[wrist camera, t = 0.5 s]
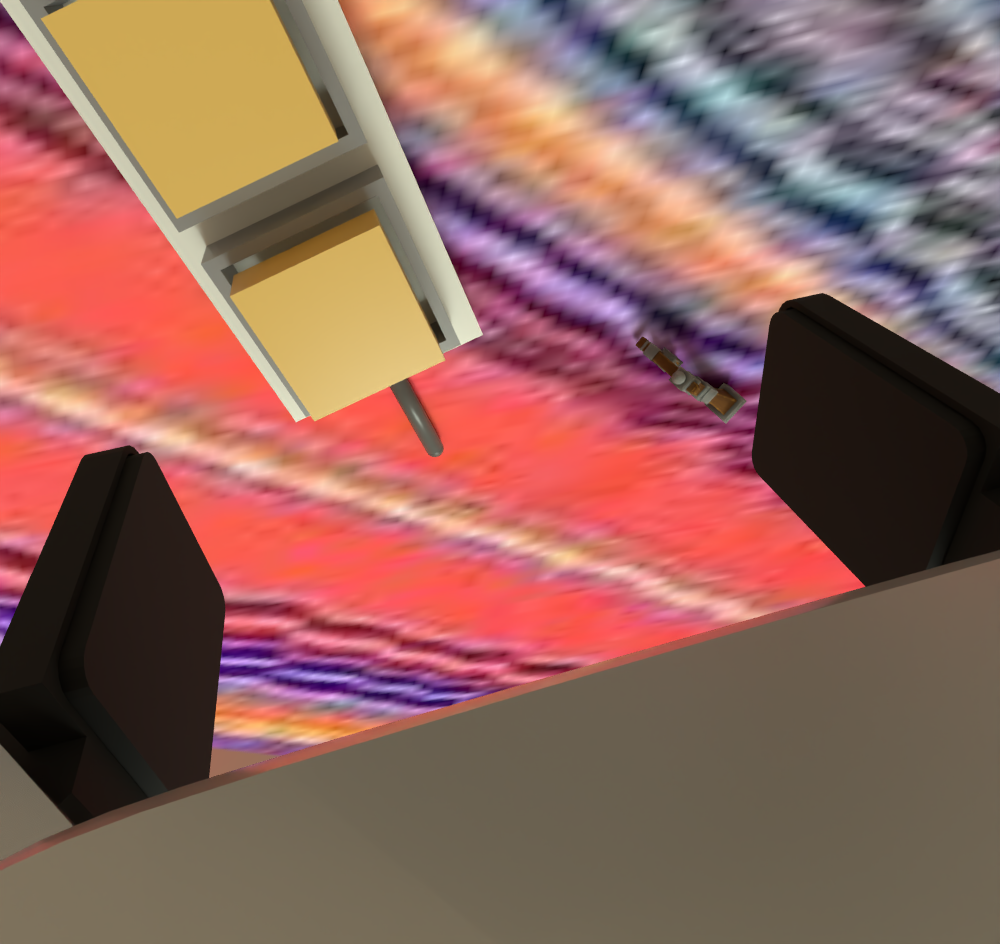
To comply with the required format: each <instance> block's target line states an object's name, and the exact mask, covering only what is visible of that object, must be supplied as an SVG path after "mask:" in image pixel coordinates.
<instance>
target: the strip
mask: <svg viewBox="0 0 1000 944" xmlns="http://www.w3.org/2000/svg"><path fill="white" fill-rule="evenodd" d="M75 1H78V0H0V2H1V3H2V4H3V6H4V7H5V9H6V10H7V12H8V13H9V14H10V16H11V17H12V19H13V20H14V22H15V23H16V24H17V26H18V27H19V29H20V30H21V32H22V33H23V34H24V36H25V37H26V39H27V40H28V41H29V43H30V44H31V46H32V47H33V49H34V50H35V51H36V53H37V54H38V56H39V57H40V59H41V60H42V61H43V63H44V64H45V66H46V67H47V68H48V70H49V71H50V73H51V74H52V76H53V77H54V78H55V80H56V81H57V83H58V84H59V86H60V87H61V88H62V90H63V91H64V93H65V94H66V95H67V97H68V98H69V100H70V101H71V103H72V104H73V105H74V107H75V108H76V110H77V111H78V113H79V114H80V115H81V117H82V118H83V120H84V121H85V123H86V124H87V125H88V127H89V128H90V130H91V131H92V132H93V134H94V135H95V137H96V138H97V140H98V141H99V142H100V144H101V145H102V147H103V148H104V150H105V151H106V152H107V154H108V155H109V157H110V158H111V159H112V161H113V162H114V164H115V165H116V167H117V168H118V169H119V171H120V172H121V174H122V175H123V177H124V178H125V179H126V181H127V182H128V184H129V185H130V186H131V188H132V189H133V191H134V192H135V194H136V195H137V196H138V198H139V199H140V201H141V202H142V204H143V205H144V206H145V208H146V209H147V211H148V212H149V214H150V215H151V216H152V218H153V219H154V221H155V222H156V223H157V225H158V226H159V228H160V229H161V231H162V232H163V233H164V235H165V236H166V238H167V239H168V241H169V242H170V243H171V245H172V246H173V248H174V249H175V250H176V252H177V253H178V255H179V256H180V258H181V259H182V260H183V262H184V263H185V265H186V266H187V268H188V269H189V270H190V272H191V273H192V275H193V276H194V277H195V279H196V280H197V282H198V283H199V285H200V286H201V287H202V289H203V290H204V292H205V293H206V295H207V296H208V297H209V299H210V300H211V302H212V303H213V304H214V306H215V307H216V309H217V310H218V312H219V313H220V314H221V316H222V317H223V319H224V320H225V322H226V323H227V324H228V326H229V327H230V329H231V330H232V332H233V333H234V334H235V336H236V337H237V339H238V340H239V341H240V343H241V344H242V346H243V347H244V349H245V350H246V351H247V353H248V354H249V356H250V357H251V359H252V360H253V361H254V363H255V364H256V366H257V367H258V368H259V370H260V371H261V373H262V374H263V376H264V377H265V378H266V380H267V381H268V383H269V384H270V386H271V387H272V388H273V390H274V391H275V393H276V394H277V395H278V397H279V398H280V400H281V401H282V403H283V404H284V405H285V407H286V408H287V410H288V411H289V413H290V414H291V415H292V417H293V418H294V420H295V421H296V422H297V421H299V420H302V419H304V418H306V417H308V416H310V414H309V412H308V411H307V409H306V408H305V406H304V405H303V403H302V402H301V400H300V399H299V398H298V396H297V395H296V393H295V392H294V390H293V389H292V387H291V386H290V384H289V383H288V381H287V380H286V378H285V377H284V375H283V374H282V373H281V371H280V370H279V368H278V367H277V365H276V364H275V362H274V361H273V359H272V358H271V356H270V355H269V353H268V352H267V351H266V349H265V348H264V346H263V345H262V343H261V342H260V340H259V339H258V337H257V336H256V334H255V333H254V331H253V330H252V328H251V327H250V326H249V324H248V323H247V321H246V320H245V318H244V317H243V315H242V314H241V312H240V311H239V309H238V308H237V306H236V305H235V303H234V302H233V301H232V299H231V298H230V292H231V287H232V282H233V276H234V275H236V274H238V273H240V272H242V271H244V270H246V269H248V268H250V267H252V266H254V265H257V264H259V263H261V262H263V261H265V260H267V259H269V258H271V257H273V256H275V255H278V254H280V253H282V252H284V251H286V250H288V249H290V248H292V247H294V246H297V245H299V244H301V243H303V242H305V241H307V240H309V239H311V238H313V237H315V236H318V235H320V234H322V233H324V232H326V231H328V230H330V229H332V228H334V227H336V226H339V225H341V224H343V223H345V222H347V221H349V220H351V219H353V218H355V217H358V216H360V215H362V214H364V213H366V212H368V211H370V210H372V209H374V210H375V212H376V214H377V216H378V218H379V221H380V223H381V225H382V227H383V229H384V231H385V233H386V235H387V237H388V239H389V241H390V243H391V245H392V247H393V249H394V251H395V253H396V256H397V258H398V260H399V262H400V264H401V266H402V268H403V270H404V272H405V274H406V276H407V278H408V280H409V282H410V284H411V286H412V288H413V291H414V293H415V295H416V297H417V299H418V301H419V303H420V305H421V307H422V309H423V311H424V313H425V315H426V317H427V319H428V321H429V324H430V326H431V328H432V330H433V332H434V334H435V336H436V338H437V340H438V343H439V345H440V348H441V350H442V353H445V352H447V351H449V350H451V349H453V348H456V347H458V346H460V345H462V344H464V343H466V342H468V341H471V340H473V339H475V338H477V337H479V336H481V335H483V334H482V332H481V329H480V327H479V325H478V323H477V320H476V318H475V316H474V313H473V311H472V309H471V306H470V304H469V302H468V299H467V297H466V295H465V293H464V290H463V288H462V286H461V283H460V281H459V279H458V276H457V274H456V272H455V270H454V267H453V265H452V263H451V260H450V258H449V256H448V253H447V251H446V249H445V246H444V244H443V242H442V240H441V237H440V235H439V233H438V230H437V228H436V226H435V223H434V221H433V219H432V216H431V214H430V212H429V210H428V207H427V205H426V203H425V200H424V198H423V196H422V193H421V191H420V189H419V186H418V184H417V182H416V180H415V177H414V175H413V173H412V170H411V168H410V166H409V163H408V161H407V159H406V157H405V154H404V152H403V150H402V147H401V145H400V143H399V140H398V138H397V136H396V133H395V131H394V129H393V127H392V124H391V122H390V120H389V117H388V115H387V113H386V110H385V108H384V106H383V103H382V101H381V99H380V97H379V94H378V92H377V90H376V87H375V85H374V83H373V80H372V78H371V76H370V74H369V71H368V69H367V67H366V64H365V62H364V60H363V57H362V55H361V53H360V50H359V48H358V46H357V44H356V41H355V39H354V37H353V34H352V32H351V30H350V27H349V25H348V23H347V20H346V18H345V16H344V14H343V11H342V9H341V7H340V4H339V2H338V0H273V2H274V4H275V6H276V8H277V11H278V13H279V15H280V17H281V19H282V21H283V23H284V25H285V27H286V29H287V31H288V33H289V35H290V37H291V39H292V41H293V43H294V46H295V48H296V50H297V52H298V54H299V56H300V58H301V60H302V62H303V64H304V66H305V68H306V70H307V72H308V74H309V76H310V78H311V81H312V83H313V85H314V87H315V89H316V91H317V93H318V95H319V97H320V99H321V101H322V103H323V105H324V107H325V109H326V111H327V113H328V116H329V118H330V120H331V122H332V124H333V126H334V128H335V130H336V134H337V137H338V142H336V143H334V144H332V145H330V146H328V147H326V148H324V149H321V150H319V151H317V152H315V153H313V154H311V155H309V156H307V157H305V158H303V159H301V160H299V161H296V162H294V163H292V164H290V165H288V166H286V167H284V168H282V169H280V170H278V171H276V172H273V173H271V174H269V175H267V176H265V177H263V178H261V179H259V180H257V181H255V182H253V183H251V184H248V185H246V186H244V187H242V188H240V189H238V190H236V191H234V192H232V193H230V194H228V195H226V196H223V197H221V198H219V199H217V200H215V201H213V202H211V203H209V204H207V205H205V206H203V207H200V208H198V209H196V210H194V211H192V212H190V213H188V214H186V215H184V216H182V217H180V218H178V219H177V218H176V217H175V215H174V214H173V212H172V211H171V209H170V208H169V206H168V205H167V204H166V202H165V201H164V199H163V198H162V196H161V195H160V193H159V192H158V190H157V189H156V187H155V186H154V184H153V183H152V182H151V180H150V179H149V177H148V176H147V174H146V173H145V171H144V170H143V168H142V167H141V165H140V164H139V162H138V161H137V159H136V158H135V157H134V155H133V154H132V152H131V151H130V149H129V148H128V146H127V145H126V143H125V142H124V140H123V139H122V137H121V136H120V134H119V133H118V132H117V130H116V129H115V127H114V126H113V124H112V123H111V121H110V120H109V118H108V117H107V115H106V114H105V112H104V111H103V110H102V108H101V107H100V105H99V104H98V102H97V101H96V99H95V98H94V96H93V95H92V93H91V92H90V90H89V89H88V87H87V86H86V85H85V83H84V82H83V80H82V79H81V77H80V76H79V74H78V73H77V71H76V70H75V68H74V67H73V65H72V64H71V62H70V61H69V60H68V58H67V57H66V55H65V54H64V52H63V51H62V49H61V48H60V46H59V45H58V43H57V42H56V40H55V39H54V38H53V36H52V35H51V33H50V32H49V30H48V29H47V27H46V26H45V24H44V23H43V21H42V20H41V18H43V17H45V16H47V15H49V14H51V13H53V12H55V11H57V10H59V9H61V8H63V7H65V6H67V5H69V4H71V3H73V2H75ZM390 388H391V390H392V391H393V393H394V395H395V397H396V399H397V400H398V402H399V404H400V406H401V407H402V409H403V411H404V413H405V414H406V416H407V418H408V420H409V421H410V423H411V425H412V427H413V429H414V430H415V432H416V434H417V436H418V437H419V439H420V441H421V443H422V444H423V446H424V448H425V450H426V451H427V453H428V454H429V455H430V456H432V457H438V456H440V455H441V454H442V452H443V449H444V448H443V444H442V442H441V440H440V439H439V437H438V435H437V433H436V431H435V429H434V428H433V426H432V424H431V422H430V420H429V418H428V416H427V415H426V413H425V411H424V409H423V407H422V405H421V404H420V402H419V400H418V398H417V396H416V394H415V392H414V391H413V389H412V387H411V385H410V383H409V381H408V380H407V378H406V379H404V380H402V381H400V382H398V383H395V384H393V385H391V386H390Z"/></svg>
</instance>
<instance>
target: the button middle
mask: <svg viewBox="0 0 1000 944" xmlns="http://www.w3.org/2000/svg"><path fill="white" fill-rule="evenodd" d="M41 20H42V21H43V23H44V24H45V26H46V27H47V29H48V30H49V32H50V33H51V35H52V36H53V38H54V39H55V40H56V42H57V43H58V45H59V46H60V48H61V49H62V51H63V52H64V54H65V55H66V57H67V58H68V60H69V61H70V62H71V64H72V65H73V67H74V68H75V70H76V71H77V73H78V74H79V76H80V77H81V79H82V80H83V82H84V83H85V85H86V86H87V87H88V89H89V90H90V92H91V93H92V95H93V96H94V98H95V99H96V101H97V102H98V104H99V105H100V107H101V108H102V110H103V111H104V112H105V114H106V115H107V117H108V118H109V120H110V121H111V123H112V124H113V126H114V127H115V129H116V130H117V132H118V133H119V134H120V136H121V137H122V139H123V140H124V142H125V143H126V145H127V146H128V148H129V149H130V151H131V152H132V154H133V155H134V157H135V158H136V159H137V161H138V162H139V164H140V165H141V167H142V168H143V170H144V171H145V173H146V174H147V176H148V177H149V179H150V180H151V182H152V183H153V184H154V186H155V187H156V189H157V190H158V192H159V193H160V195H161V196H162V198H163V199H164V201H165V202H166V204H167V205H168V206H169V208H170V209H171V211H172V212H173V214H174V215H175V217H176V218H177V219H178V218H180V217H182V216H184V215H186V214H188V213H190V212H192V211H194V210H196V209H198V208H200V207H203V206H205V205H207V204H209V203H211V202H213V201H215V200H217V199H219V198H221V197H223V196H226V195H228V194H230V193H232V192H234V191H236V190H238V189H240V188H242V187H244V186H246V185H248V184H251V183H253V182H255V181H257V180H259V179H261V178H263V177H265V176H267V175H269V174H271V173H273V172H276V171H278V170H280V169H282V168H284V167H286V166H288V165H290V164H292V163H294V162H296V161H299V160H301V159H303V158H305V157H307V156H309V155H311V154H313V153H315V152H317V151H319V150H321V149H324V148H326V147H328V146H330V145H332V144H334V143H336V142H338V137H337V134H336V130H335V128H334V126H333V124H332V122H331V120H330V118H329V116H328V113H327V111H326V109H325V107H324V105H323V103H322V101H321V99H320V97H319V95H318V93H317V91H316V89H315V87H314V85H313V83H312V81H311V78H310V76H309V74H308V72H307V70H306V68H305V66H304V64H303V62H302V60H301V58H300V56H299V54H298V52H297V50H296V48H295V46H294V43H293V41H292V39H291V37H290V35H289V33H288V31H287V29H286V27H285V25H284V23H283V21H282V19H281V17H280V15H279V13H278V11H277V8H276V6H275V4H274V2H273V0H78V1H75V2H73V3H71V4H69V5H67V6H65V7H63V8H61V9H59V10H57V11H55V12H53V13H51V14H49V15H47V16H45V17H43V18H41Z"/></svg>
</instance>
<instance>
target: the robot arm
mask: <svg viewBox="0 0 1000 944" xmlns="http://www.w3.org/2000/svg"><path fill="white" fill-rule="evenodd" d="M752 461H753V465H754V468H755V470H756V472H757V473H758V475H759V476H760V477H761V478H762V479H763V480H764V481H765V482H766V483H767V484H768V485H769V486H770V487H771V488H772V489H773V491H774V492H775V493H776V494H777V495H778V496H779V497H780V498H781V499H782V500H783V501H784V502H785V503H786V504H787V505H788V506H789V507H790V508H791V509H792V510H793V511H794V512H795V513H796V514H797V516H798V517H799V518H800V519H801V520H802V521H803V522H804V523H805V524H806V525H807V526H808V527H809V528H810V529H811V530H812V531H813V532H814V533H815V534H816V535H817V536H818V537H819V538H820V539H821V541H822V542H823V543H824V544H825V545H826V546H827V547H828V548H829V549H830V550H831V551H832V552H833V553H834V554H835V555H836V556H837V557H838V558H839V559H840V560H841V561H842V562H843V563H844V564H845V566H846V567H847V568H848V569H849V570H850V571H851V572H852V573H853V574H854V575H855V576H856V577H857V578H858V579H859V580H860V581H861V582H862V583H863V584H864V585H865V586H866V587H864V588H860V589H856V590H853V591H849V592H846V593H842V594H839V595H835V596H831V597H828V598H824V599H821V600H817V601H814V602H810V603H806V604H803V605H799V606H796V607H792V608H789V609H785V610H781V611H778V612H774V613H771V614H767V615H764V616H760V617H757V618H753V619H750V620H746V621H743V622H739V623H736V624H732V625H729V626H725V627H722V628H718V629H715V630H711V631H708V632H704V633H701V634H697V635H694V636H690V637H687V638H683V639H680V640H676V641H673V642H669V643H666V644H662V645H659V646H655V647H652V648H648V649H645V650H641V651H638V652H634V653H631V654H627V655H624V656H620V657H617V658H613V659H610V660H606V661H603V662H599V663H596V664H592V665H589V666H585V667H582V668H578V669H575V670H571V671H568V672H564V673H561V674H557V675H554V676H550V677H547V678H544V679H540V680H537V681H533V682H530V683H526V684H523V685H520V686H516V687H513V688H509V689H506V690H502V691H499V692H496V693H492V694H489V695H485V696H482V697H478V698H475V699H472V700H468V701H465V702H461V703H458V704H454V705H451V706H448V707H444V708H441V709H437V710H434V711H430V712H427V713H424V714H420V715H417V716H413V717H410V718H406V719H403V720H400V721H396V722H393V723H389V724H386V725H382V726H379V727H376V728H372V729H369V730H365V731H362V732H358V733H355V734H352V735H348V736H345V737H341V738H338V739H334V740H331V741H328V742H325V743H321V744H318V745H315V746H312V747H308V748H305V749H302V750H299V751H295V752H292V753H289V754H286V755H282V756H279V757H276V758H273V759H269V760H267V761H263V762H260V763H256V764H253V765H250V766H247V767H244V768H240V769H237V770H234V771H231V772H227V773H224V774H221V775H217V776H214V777H211V778H209V772H210V762H211V751H212V742H213V732H214V721H215V711H216V701H217V691H218V681H219V671H220V660H221V650H222V640H223V630H224V620H225V601H224V596H223V593H222V589H221V587H220V585H219V583H218V581H217V579H216V577H215V575H214V573H213V571H212V569H211V567H210V565H209V563H208V561H207V559H206V557H205V555H204V553H203V551H202V550H201V548H200V546H199V544H198V542H197V540H196V538H195V536H194V534H193V532H192V530H191V528H190V526H189V524H188V522H187V520H186V518H185V516H184V514H183V512H182V510H181V508H180V506H179V504H178V502H177V500H176V498H175V496H174V495H173V493H172V491H171V489H170V487H169V485H168V483H167V481H166V479H165V477H164V475H163V473H162V471H161V469H160V467H159V465H158V463H157V461H156V460H155V458H154V456H153V455H152V454H151V453H149V452H146V453H141V454H139V453H138V452H137V451H136V449H135V448H134V447H132V446H130V445H129V446H124V447H120V448H115V449H110V450H106V451H101V452H97V453H92V454H88V455H84V457H83V458H82V459H81V462H80V464H79V466H78V468H77V471H76V473H75V475H74V478H73V480H72V482H71V485H70V487H69V489H68V492H67V494H66V496H65V499H64V501H63V503H62V505H61V508H60V510H59V512H58V515H57V517H56V519H55V522H54V524H53V526H52V529H51V531H50V533H49V536H48V538H47V540H46V542H45V545H44V547H43V549H42V552H41V554H40V556H39V559H38V561H37V563H36V566H35V568H34V570H33V573H32V574H31V576H30V579H29V581H28V583H27V586H26V588H25V590H24V593H23V595H22V597H21V599H20V602H19V604H18V606H17V609H16V611H15V613H14V616H13V618H12V620H11V623H10V625H9V627H8V630H7V632H6V634H5V636H4V639H3V641H2V643H1V646H0V944H1000V393H998V392H996V391H994V390H993V389H991V388H989V387H987V386H986V385H984V384H982V383H980V382H979V381H977V380H975V379H974V378H972V377H970V376H968V375H967V374H965V373H963V372H961V371H960V370H958V369H956V368H954V367H953V366H951V365H949V364H947V363H946V362H944V361H942V360H940V359H939V358H937V357H935V356H934V355H932V354H930V353H928V352H927V351H925V350H923V349H921V348H920V347H918V346H916V345H914V344H913V343H911V342H909V341H907V340H906V339H904V338H902V337H900V336H899V335H897V334H895V333H893V332H892V331H890V330H888V329H887V328H885V327H883V326H881V325H880V324H878V323H876V322H874V321H873V320H871V319H869V318H867V317H866V316H864V315H862V314H860V313H859V312H857V311H855V310H853V309H852V308H850V307H848V306H847V305H845V304H843V303H841V302H840V301H838V300H836V299H834V298H833V297H831V296H829V295H827V294H824V293H821V294H816V295H811V296H807V297H802V298H798V299H793V300H789V301H786V302H785V303H783V304H782V306H781V307H780V309H779V312H777V313H775V314H774V315H773V316H772V318H771V321H770V325H769V332H768V340H767V347H766V354H765V361H764V369H763V376H762V383H761V390H760V398H759V405H758V412H757V419H756V427H755V434H754V441H753V448H752Z"/></svg>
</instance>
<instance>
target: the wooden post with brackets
mask: <svg viewBox="0 0 1000 944" xmlns="http://www.w3.org/2000/svg"><path fill="white" fill-rule="evenodd" d="M636 346H637V347H638V348H640V350H641V351H643V354H644V355H645V356H646V357H648V358H649V359H650V360H651V361H653V362H654V363H655V364H656V365H657V366H658V367H659V368H661V369H662V370H663V371H664V372H667V373H668V374H669V375H670V376H671V378H670V379H669V381H670V382H672V383H673V384H674V385H675V386H676V387H677V388H678V389H680V390H681V391H684V392H686V393H687V394H688V395H690V394H691V395H692V396H693V397H694V398H696V399H697V400H698V401H700V402H701V401H702V402H704V403H705V405H706V406H707V407H708V408H709V409H710V410H711V411H713V412H714V413H715V414H716V415H717V416H718V417H719V418H720V419H721V420H722V421H724V422H725V423H727V422H728V421H729V420H730V419H731V417H732V416H733V415H734V414H735V413H736V412H737V411H738V410H739V409H740V408H741V407H742V406H743V405H744V403H745V402H746V400H745V399H744V398H743V397H741V396H740V395H739V394H738V393H737V392H736V391H734V390H733V389H732V388H731V387H730V386H729V385H727V384H725V383H723V384H722V385H721V386H720V387H719V389H717V388H713V387H712V386H711V385H710V384H709V383H707V382H704V381H703V380H702V379H701V378H700V377H698V376H696V377H695V376H694V375H693V374H691V373H690V372H689V371H686V370H685V369H683V368H682V367H681V366H680V365H681V364H682V363H683V362H682V361H681V360H680V359H678V358H677V357H676V356H675V355H674V354H672V353H671V352H670V351H669V350H668V349H666V348H665V347H664V348H663V350H662V351H661V350H660V349H659V348H658V347H657V346H656V345H654V344H652V343H651V342H649V341H648V340H647V339H646V338H644V337H642V338H641V339H640V340H639V341H638V342H637V344H636ZM679 367H680V368H679Z"/></svg>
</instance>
